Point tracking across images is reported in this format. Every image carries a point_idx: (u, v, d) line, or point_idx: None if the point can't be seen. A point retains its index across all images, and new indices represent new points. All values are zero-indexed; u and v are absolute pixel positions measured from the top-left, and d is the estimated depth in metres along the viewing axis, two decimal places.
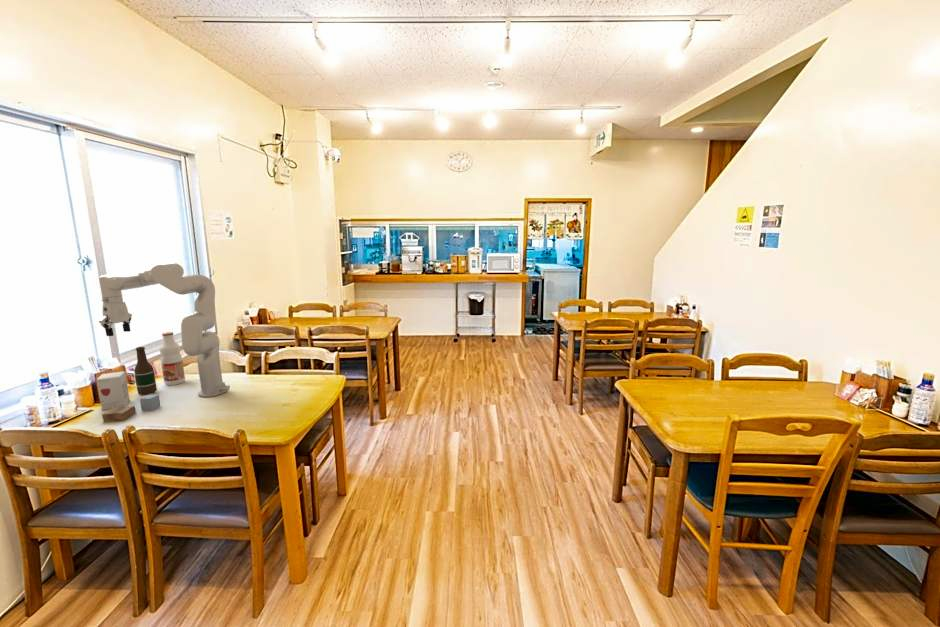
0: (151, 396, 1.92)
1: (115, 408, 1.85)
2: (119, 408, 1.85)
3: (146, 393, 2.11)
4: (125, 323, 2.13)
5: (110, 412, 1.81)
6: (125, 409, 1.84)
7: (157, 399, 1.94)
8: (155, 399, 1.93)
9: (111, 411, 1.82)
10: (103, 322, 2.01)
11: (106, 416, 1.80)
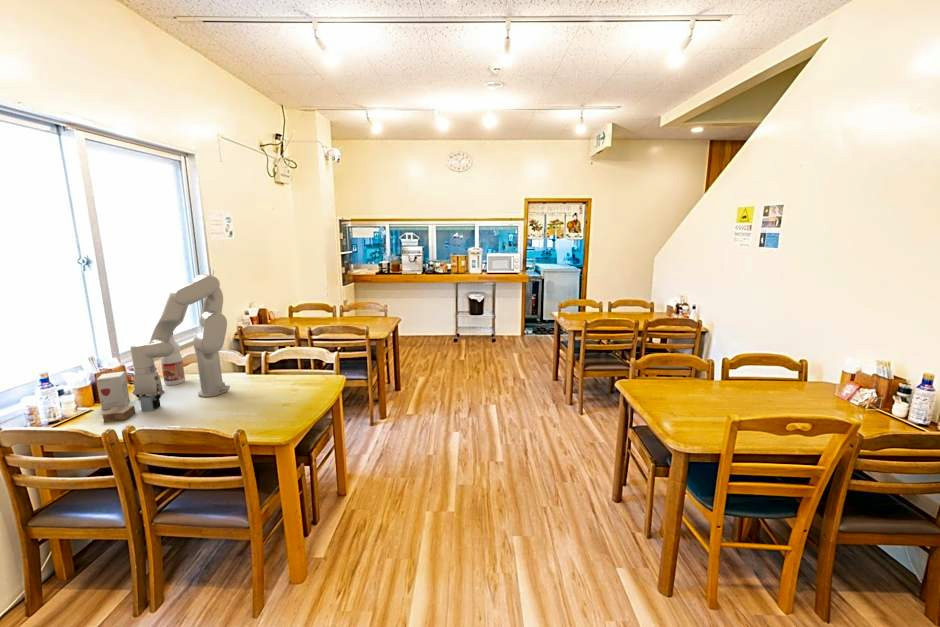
0: (151, 396, 1.92)
1: (114, 408, 1.85)
2: (119, 408, 1.85)
3: None
4: None
5: (110, 412, 1.81)
6: (125, 409, 1.84)
7: None
8: None
9: (111, 411, 1.82)
10: None
11: (107, 416, 1.80)
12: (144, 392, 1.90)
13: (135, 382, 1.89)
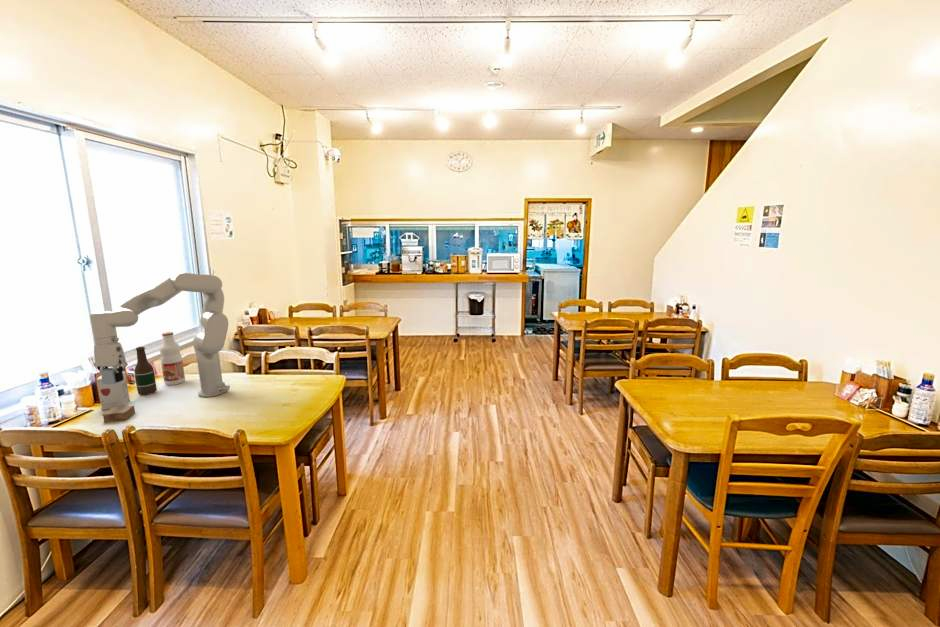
0: (113, 369, 1.80)
1: (114, 408, 1.85)
2: (118, 408, 1.85)
3: (146, 393, 2.11)
4: None
5: (111, 412, 1.81)
6: (126, 409, 1.84)
7: None
8: None
9: (111, 411, 1.82)
10: None
11: (107, 416, 1.79)
12: (105, 364, 1.78)
13: (95, 353, 1.77)
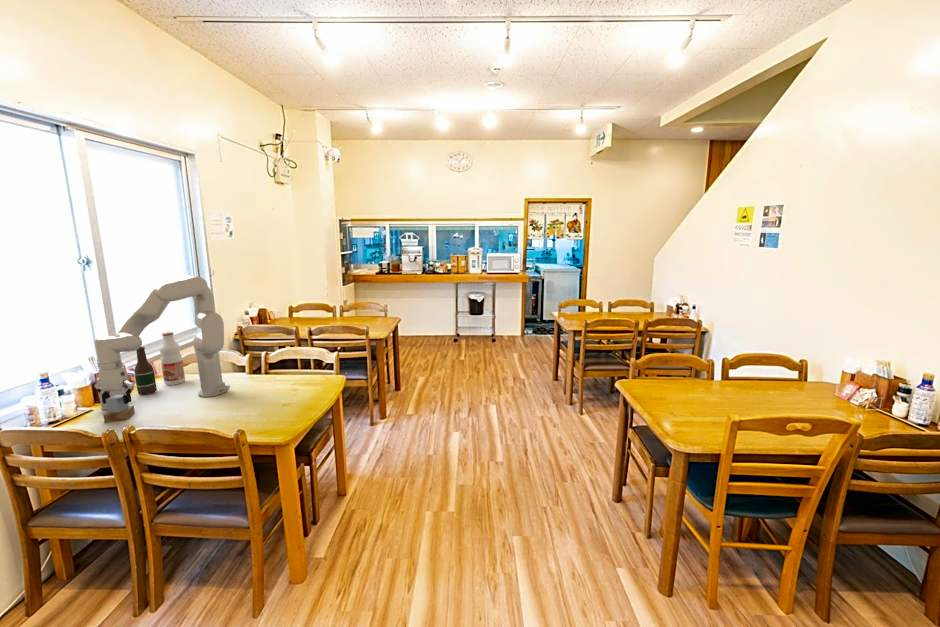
0: (118, 397, 1.82)
1: None
2: None
3: (146, 393, 2.11)
4: (105, 393, 1.83)
5: (111, 412, 1.81)
6: (126, 409, 1.84)
7: None
8: (122, 400, 1.83)
9: None
10: None
11: (107, 416, 1.79)
12: (110, 388, 1.80)
13: (100, 378, 1.79)
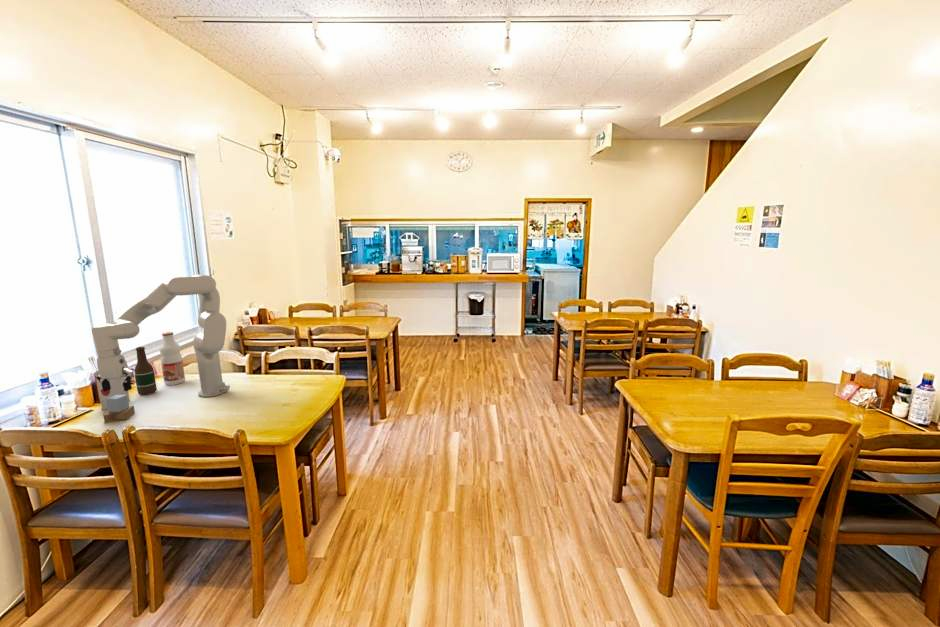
0: (118, 397, 1.82)
1: None
2: None
3: (146, 393, 2.11)
4: (105, 381, 1.82)
5: (111, 412, 1.81)
6: (126, 409, 1.84)
7: (125, 400, 1.84)
8: (122, 400, 1.83)
9: (111, 412, 1.82)
10: None
11: (107, 417, 1.79)
12: (109, 376, 1.79)
13: (99, 366, 1.78)
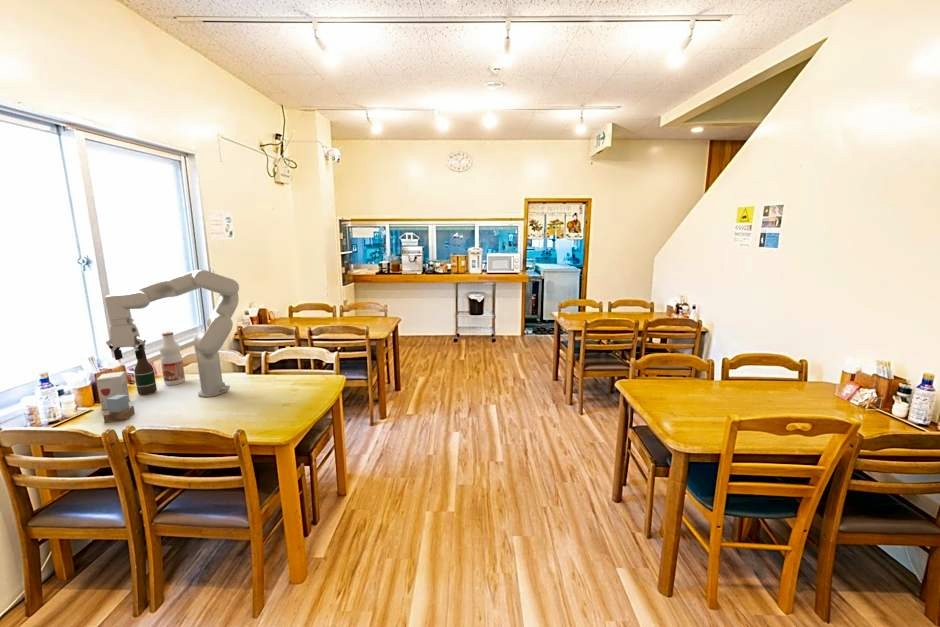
0: (118, 397, 1.82)
1: None
2: None
3: (146, 393, 2.11)
4: (117, 350, 1.87)
5: (111, 413, 1.81)
6: (126, 409, 1.84)
7: (125, 400, 1.84)
8: (122, 400, 1.83)
9: (111, 412, 1.82)
10: None
11: (107, 417, 1.79)
12: (122, 344, 1.84)
13: (112, 334, 1.84)
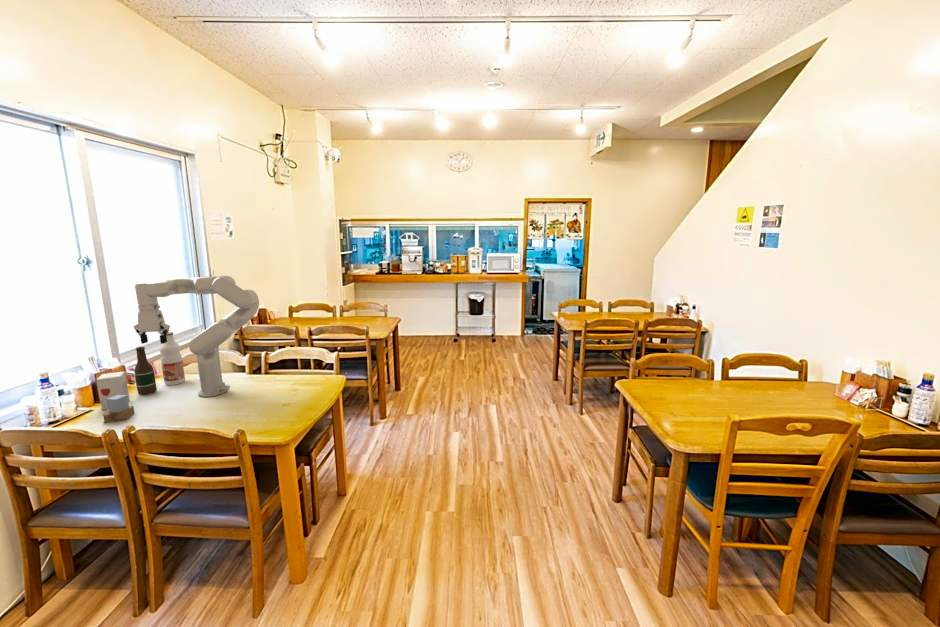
0: (118, 397, 1.82)
1: None
2: None
3: (146, 393, 2.11)
4: (143, 334, 2.00)
5: (111, 413, 1.81)
6: (126, 409, 1.84)
7: (125, 400, 1.84)
8: (122, 400, 1.82)
9: (111, 412, 1.81)
10: None
11: (107, 417, 1.79)
12: (148, 329, 1.97)
13: (139, 319, 1.97)
